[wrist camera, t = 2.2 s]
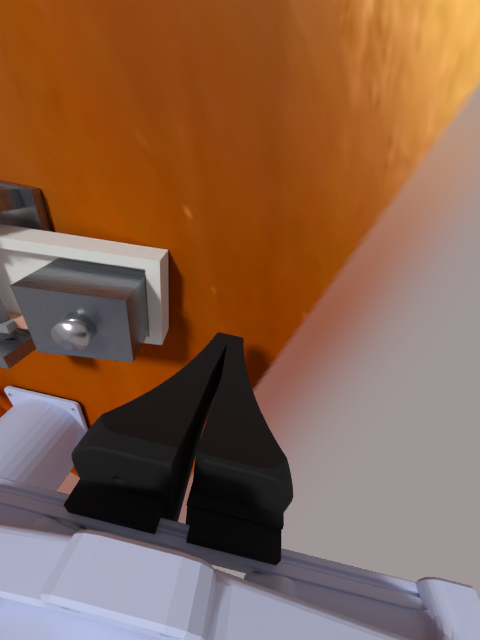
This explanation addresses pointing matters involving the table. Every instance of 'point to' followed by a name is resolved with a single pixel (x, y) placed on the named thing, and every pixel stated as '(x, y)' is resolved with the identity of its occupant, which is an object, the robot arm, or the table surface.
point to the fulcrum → (28, 212)
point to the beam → (44, 247)
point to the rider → (85, 309)
